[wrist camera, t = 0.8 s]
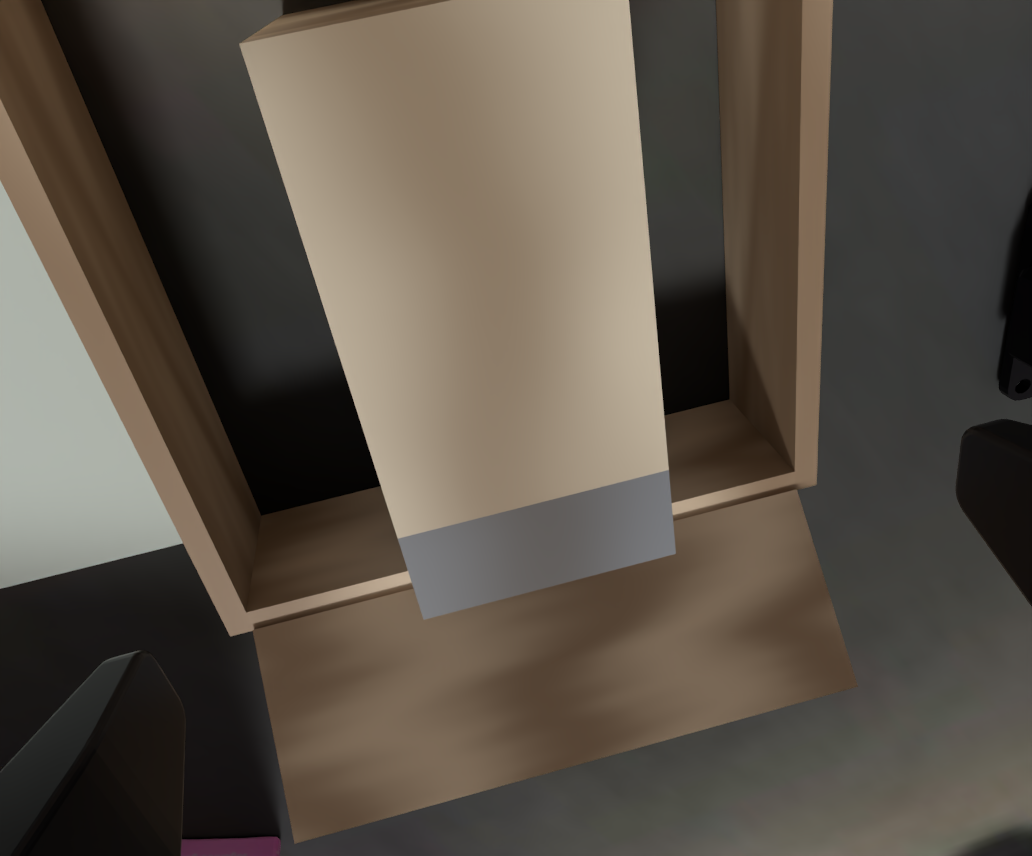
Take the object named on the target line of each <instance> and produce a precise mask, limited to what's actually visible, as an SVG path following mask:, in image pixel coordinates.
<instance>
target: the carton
mask: <svg viewBox="0 0 1032 856" xmlns="http://www.w3.org/2000/svg"><path fill="white" fill-rule="evenodd" d="M716 14H717V44H718V73H719V102H720V131H721V161H722V190H723V219H724V248H725V278H726V307H727V336H728V365H729V395H730V399H729V400H725V401H721V402H717V403H713V404H709V405H705V406H701V407H697V408H693V409H689V410H685V411H681V412H677V413H673V414H669V415H665V416H664V420H665V431H666V443H667V455H668V467H669V478H670V490H671V502H672V514H673V525H674V537H675V549H676V554H673V555H669V556H666V557H662V558H658V559H654V560H650V561H647V562H643V563H639V564H635V565H631V566H627V567H624V568H620V569H616V570H612V571H608V572H605V573H601V574H597V575H593V576H589V577H585V578H582V579H578V580H574V581H570V582H566V583H563V584H559V585H555V586H551V587H547V588H543V589H540V590H536V591H532V592H528V593H524V594H521V595H517V596H513V597H509V598H505V599H501V600H498V601H494V602H490V603H486V604H482V605H479V606H475V607H471V608H467V609H463V610H459V611H456V612H452V613H448V614H444V615H440V616H437V617H433V618H429V619H425V620H424V619H423V616H422V613H421V610H420V607H419V604H418V601H417V597H416V594H415V591H414V588H413V585H412V582H411V579H410V576H409V572H408V569H407V566H406V563H405V560H404V557H403V554H402V551H401V547H400V544H399V541H398V538H397V535H396V532H395V529H394V526H393V522H392V519H391V516H390V513H389V510H388V507H387V504H386V501H385V497H384V494H383V491H382V488H381V486H379V487H375V488H371V489H367V490H363V491H359V492H355V493H351V494H347V495H343V496H339V497H335V498H331V499H327V500H323V501H319V502H315V503H310V504H306V505H302V506H298V507H294V508H290V509H286V510H282V511H278V512H274V513H270V514H266V515H262V516H261V514H260V512H259V509H258V507H257V505H256V502H255V500H254V498H253V495H252V493H251V491H250V488H249V486H248V484H247V481H246V479H245V477H244V474H243V472H242V470H241V467H240V465H239V463H238V460H237V458H236V456H235V453H234V451H233V449H232V446H231V444H230V442H229V439H228V437H227V435H226V432H225V430H224V428H223V425H222V423H221V421H220V418H219V416H218V413H217V411H216V409H215V406H214V404H213V402H212V399H211V397H210V395H209V392H208V390H207V388H206V385H205V383H204V381H203V378H202V376H201V374H200V371H199V369H198V367H197V364H196V362H195V360H194V357H193V355H192V353H191V350H190V348H189V346H188V343H187V341H186V339H185V336H184V334H183V332H182V329H181V327H180V325H179V322H178V320H177V318H176V315H175V313H174V311H173V308H172V306H171V304H170V301H169V299H168V297H167V294H166V292H165V290H164V287H163V285H162V283H161V280H160V278H159V275H158V273H157V271H156V268H155V266H154V264H153V261H152V259H151V257H150V254H149V252H148V250H147V247H146V245H145V243H144V240H143V238H142V236H141V233H140V231H139V229H138V226H137V224H136V222H135V219H134V217H133V215H132V212H131V210H130V208H129V205H128V203H127V201H126V198H125V196H124V194H123V191H122V189H121V187H120V184H119V182H118V180H117V177H116V175H115V173H114V170H113V168H112V166H111V163H110V161H109V159H108V156H107V154H106V152H105V149H104V147H103V145H102V142H101V140H100V137H99V135H98V133H97V130H96V128H95V126H94V123H93V121H92V119H91V116H90V114H89V112H88V109H87V107H86V105H85V102H84V100H83V98H82V95H81V93H80V91H79V88H78V86H77V84H76V81H75V79H74V77H73V74H72V72H71V70H70V67H69V65H68V63H67V60H66V58H65V56H64V53H63V51H62V49H61V46H60V44H59V42H58V39H57V37H56V35H55V32H54V30H53V28H52V25H51V23H50V21H49V18H48V16H47V14H46V11H45V9H44V7H43V4H42V2H41V0H0V181H1V183H2V185H3V187H4V189H5V191H6V193H7V195H8V197H9V199H10V201H11V203H12V205H13V207H14V209H15V211H16V213H17V214H18V216H19V218H20V220H21V222H22V224H23V226H24V228H25V230H26V232H27V234H28V236H29V238H30V240H31V242H32V244H33V246H34V248H35V250H36V252H37V254H38V256H39V258H40V260H41V262H42V264H43V266H44V268H45V270H46V272H47V274H48V276H49V278H50V280H51V282H52V284H53V286H54V288H55V290H56V292H57V294H58V296H59V298H60V300H61V302H62V304H63V306H64V308H65V310H66V312H67V314H68V316H69V318H70V320H71V322H72V324H73V326H74V328H75V330H76V332H77V334H78V336H79V337H80V339H81V341H82V343H83V345H84V347H85V349H86V351H87V353H88V355H89V357H90V359H91V361H92V363H93V365H94V367H95V369H96V371H97V373H98V375H99V377H100V379H101V381H102V383H103V385H104V387H105V389H106V391H107V393H108V395H109V397H110V399H111V401H112V403H113V405H114V407H115V409H116V411H117V413H118V415H119V417H120V419H121V421H122V423H123V425H124V427H125V429H126V431H127V433H128V435H129V437H130V439H131V441H132V443H133V445H134V447H135V449H136V451H137V453H138V455H139V457H140V459H141V461H142V462H143V464H144V466H145V468H146V470H147V472H148V474H149V476H150V478H151V480H152V482H153V484H154V486H155V488H156V490H157V492H158V494H159V496H160V498H161V500H162V502H163V504H164V506H165V508H166V510H167V512H168V514H169V516H170V518H171V520H172V522H173V524H174V526H175V528H176V530H177V532H178V534H179V536H180V538H181V540H182V542H183V544H184V546H185V548H186V550H187V552H188V554H189V556H190V558H191V560H192V562H193V564H194V566H195V568H196V570H197V572H198V574H199V576H200V578H201V580H202V582H203V584H204V585H205V587H206V589H207V591H208V593H209V595H210V597H211V599H212V601H213V603H214V605H215V607H216V609H217V611H218V613H219V615H220V617H221V619H222V621H223V623H224V625H225V627H226V629H227V631H228V633H229V635H230V636H234V635H238V634H242V633H246V632H250V631H253V635H254V640H255V645H256V650H257V655H258V660H259V665H260V670H261V675H262V680H263V685H264V690H265V695H266V700H267V706H268V711H269V716H270V721H271V726H272V731H273V736H274V741H275V746H276V751H277V756H278V761H279V766H280V771H281V777H282V782H283V787H284V792H285V797H286V802H287V807H288V812H289V817H290V822H291V827H292V832H293V837H294V842H295V843H299V842H303V841H306V840H310V839H313V838H317V837H320V836H324V835H328V834H331V833H335V832H338V831H342V830H346V829H349V828H353V827H356V826H360V825H363V824H367V823H371V822H374V821H378V820H381V819H385V818H389V817H392V816H396V815H399V814H403V813H406V812H410V811H414V810H417V809H421V808H424V807H428V806H432V805H435V804H439V803H442V802H446V801H449V800H453V799H457V798H460V797H464V796H467V795H471V794H475V793H478V792H482V791H485V790H489V789H492V788H496V787H500V786H503V785H507V784H510V783H514V782H518V781H521V780H525V779H528V778H532V777H535V776H539V775H543V774H546V773H550V772H553V771H557V770H561V769H564V768H568V767H571V766H575V765H578V764H582V763H586V762H589V761H593V760H596V759H600V758H604V757H607V756H611V755H614V754H618V753H621V752H625V751H629V750H632V749H636V748H639V747H643V746H646V745H650V744H654V743H657V742H661V741H664V740H668V739H672V738H675V737H679V736H682V735H686V734H689V733H693V732H697V731H700V730H704V729H707V728H711V727H715V726H718V725H722V724H725V723H729V722H732V721H736V720H740V719H743V718H747V717H750V716H754V715H758V714H761V713H765V712H768V711H772V710H775V709H779V708H783V707H786V706H790V705H793V704H797V703H801V702H804V701H808V700H811V699H815V698H818V697H822V696H826V695H829V694H833V693H836V692H840V691H844V690H847V689H851V688H854V687H858V685H857V682H856V679H855V676H854V673H853V669H852V666H851V663H850V660H849V656H848V653H847V650H846V647H845V644H844V640H843V637H842V634H841V631H840V627H839V624H838V621H837V618H836V615H835V611H834V608H833V605H832V602H831V598H830V595H829V592H828V589H827V586H826V582H825V579H824V576H823V573H822V570H821V566H820V563H819V560H818V557H817V553H816V550H815V547H814V544H813V541H812V537H811V534H810V531H809V528H808V524H807V521H806V518H805V515H804V512H803V508H802V505H801V502H800V499H799V495H798V492H797V490H799V489H802V488H806V487H810V486H814V485H817V455H818V426H819V397H820V367H821V338H822V308H823V279H824V249H825V220H826V190H827V161H828V131H829V102H830V73H831V43H832V14H833V0H716Z"/></svg>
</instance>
